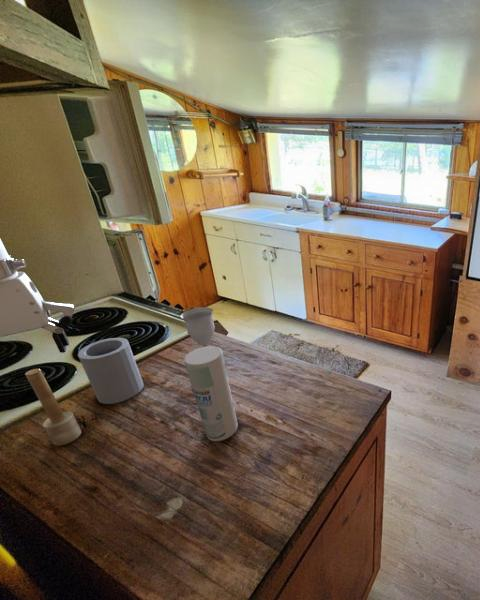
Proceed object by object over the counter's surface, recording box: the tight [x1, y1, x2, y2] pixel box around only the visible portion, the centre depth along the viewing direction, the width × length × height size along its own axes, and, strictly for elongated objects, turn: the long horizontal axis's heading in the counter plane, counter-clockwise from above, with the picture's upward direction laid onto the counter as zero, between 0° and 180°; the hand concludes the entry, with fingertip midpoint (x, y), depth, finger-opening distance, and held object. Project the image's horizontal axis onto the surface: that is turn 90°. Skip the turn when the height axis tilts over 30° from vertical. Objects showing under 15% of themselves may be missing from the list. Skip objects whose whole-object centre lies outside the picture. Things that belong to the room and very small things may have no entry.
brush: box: [24, 368, 82, 446], centre depth 65 cm, size 4×4×17 cm
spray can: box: [183, 345, 239, 442], centre depth 68 cm, size 6×6×20 cm
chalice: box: [180, 306, 216, 347], centre depth 87 cm, size 7×7×18 cm
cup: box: [77, 337, 144, 405], centre depth 79 cm, size 9×9×13 cm
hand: (27, 358), depth 60 cm, fingers open, 9 cm apart
